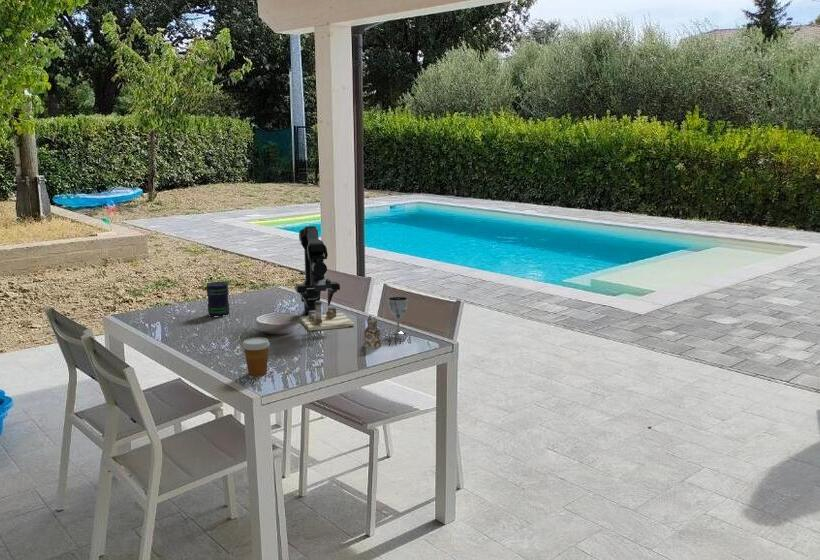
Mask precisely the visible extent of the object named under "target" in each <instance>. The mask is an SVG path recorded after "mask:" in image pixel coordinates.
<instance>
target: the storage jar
mask: <svg viewBox="0 0 820 560" xmlns="http://www.w3.org/2000/svg"><path fill="white" fill-rule="evenodd" d="M228 284H229V283H228V282H227V281H213V282H208V283H206V296H207V302H208V303H207V313H208V314H209V315H210V316H223V315H228V314H229V315H230V303H229V285H228ZM209 315H208V316H209ZM229 315H228V316H229Z"/></svg>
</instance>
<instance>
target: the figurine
mask: <svg viewBox="0 0 820 560" xmlns="http://www.w3.org/2000/svg"><path fill="white" fill-rule="evenodd" d="M362 346H363V347H364V348H366V347H367V348H366V349H378V348H381V347H382V339H381V330H380V328H378V319H376V317H374V316H372V315H368V319H367V327H366V328H365V329H364V332H363V342H362Z"/></svg>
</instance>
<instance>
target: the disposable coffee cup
mask: <svg viewBox="0 0 820 560" xmlns="http://www.w3.org/2000/svg"><path fill="white" fill-rule="evenodd" d="M270 345H271V343H270V342H269V339H268V338H266V337H251V338H250V337H249V338H247V339H245V340H244V341H243V343H242V348H243V349H244V356H245V362H246V367H247V372H248V375H249V376H252V377H261V376H263V375H266V374H267V371H268V358H269V347H270Z"/></svg>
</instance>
